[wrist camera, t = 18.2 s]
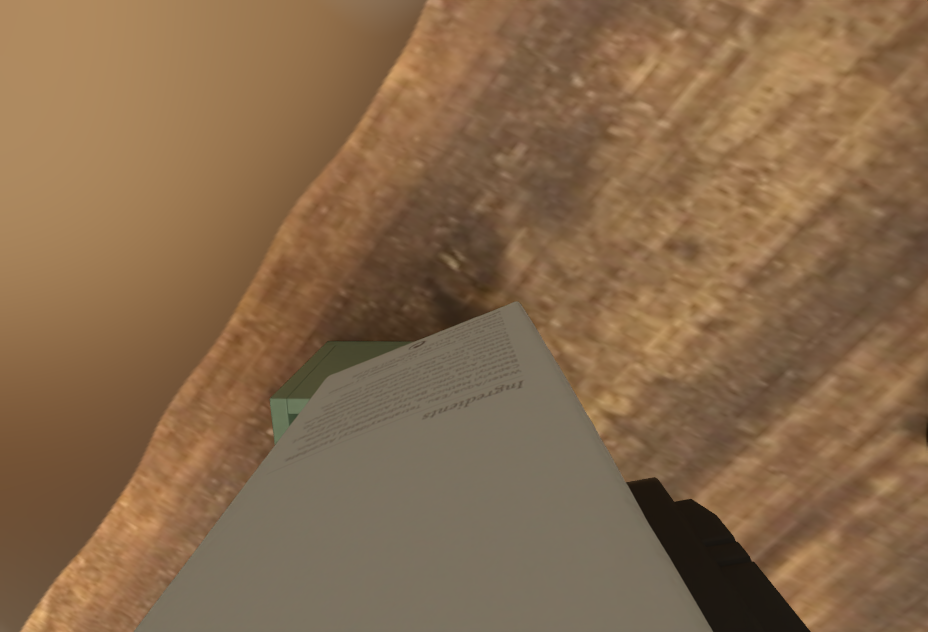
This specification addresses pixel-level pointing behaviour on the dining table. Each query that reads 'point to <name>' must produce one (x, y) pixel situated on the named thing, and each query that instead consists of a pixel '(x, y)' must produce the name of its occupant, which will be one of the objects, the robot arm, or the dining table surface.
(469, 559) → the small box
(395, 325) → the dining table surface
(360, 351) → the chest
